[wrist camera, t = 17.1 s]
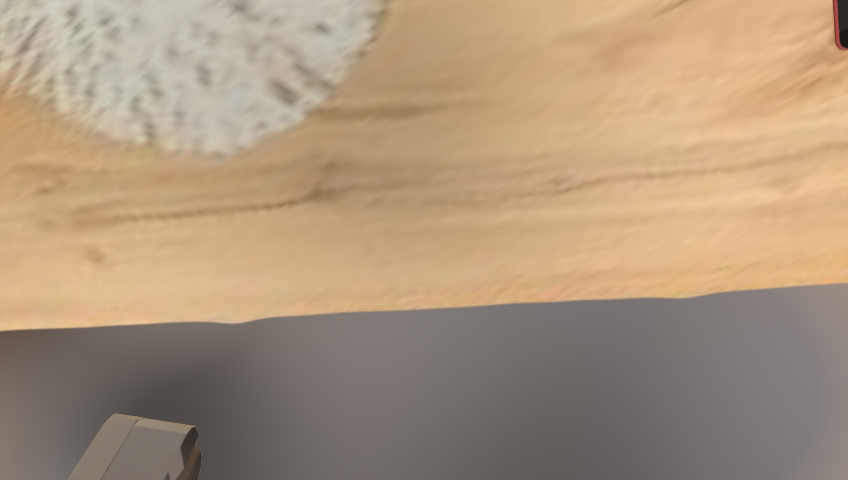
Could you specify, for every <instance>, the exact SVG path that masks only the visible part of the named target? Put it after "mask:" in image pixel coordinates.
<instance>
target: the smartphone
mask: <svg viewBox="0 0 848 480" xmlns="http://www.w3.org/2000/svg"><path fill="white" fill-rule="evenodd" d="M833 11H834V28H835V41H836V45H837V47H838V48H839V49H842V50H848V0H833Z"/></svg>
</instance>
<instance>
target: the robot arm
mask: <svg viewBox="0 0 848 480" xmlns="http://www.w3.org/2000/svg"><path fill="white" fill-rule="evenodd" d="M198 437H199V436H198V431H197V427H196V426H190V425H183V424H177V423H170V422H163V421H158V420H151V419H146V418H142V417H135V416H128V415H120V414H113V415H112V416H111V417H110V418H109V419H108V420H107V421H106V422H105V423H104V424H103V426H102V428H101V429H100V431H99V432H98V434H97V435H96V437H95V438H94V440H93V441H92V443H91V445H90V446H89V447H88V449H87V450H86V452H85V454H84V455H83V457H82V458H81V460H80V461H79V463H78V464H77V466H76V467H75V469H74V471H73V472H72V473H71V475H70V476H69V478H68V480H198V476H199V473H200V469H201V460H202V459H201V458H202V457H201V451H200V449H199V448H198V447H196V446H195V444H196V441H197V439H198Z"/></svg>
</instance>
